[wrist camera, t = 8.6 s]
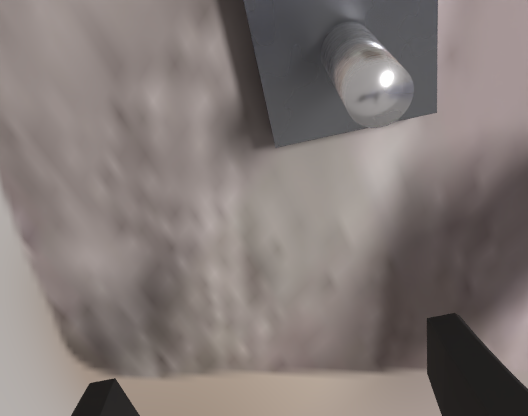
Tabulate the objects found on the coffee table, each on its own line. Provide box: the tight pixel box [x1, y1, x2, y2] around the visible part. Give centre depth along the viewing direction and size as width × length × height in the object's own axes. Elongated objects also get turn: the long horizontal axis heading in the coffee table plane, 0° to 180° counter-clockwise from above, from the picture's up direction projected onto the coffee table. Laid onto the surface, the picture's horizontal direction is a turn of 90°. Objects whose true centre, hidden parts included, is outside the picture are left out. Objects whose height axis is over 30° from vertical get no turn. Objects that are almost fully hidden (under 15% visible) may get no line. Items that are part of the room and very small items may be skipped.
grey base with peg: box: [243, 0, 438, 148], centre depth 14 cm, size 6×6×5 cm
